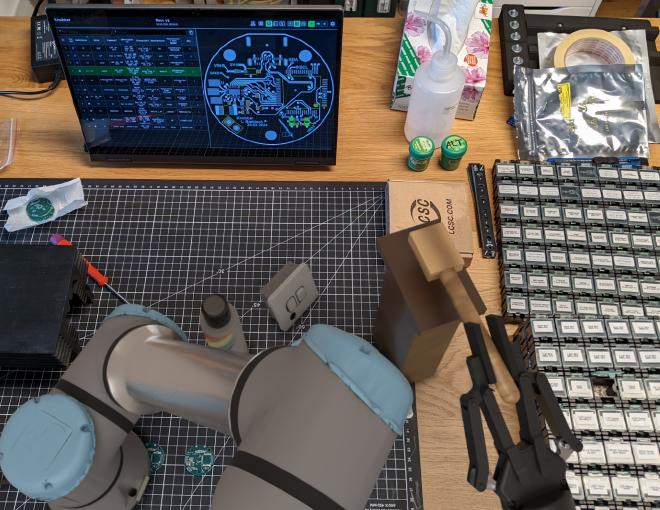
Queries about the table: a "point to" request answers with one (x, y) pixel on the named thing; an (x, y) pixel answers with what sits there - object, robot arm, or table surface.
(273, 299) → the electrical switch
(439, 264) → the wooden mallet
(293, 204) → the table surface
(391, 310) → the stand
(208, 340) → the lotion bottle
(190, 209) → the table surface
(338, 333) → the robot arm
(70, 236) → the table surface
